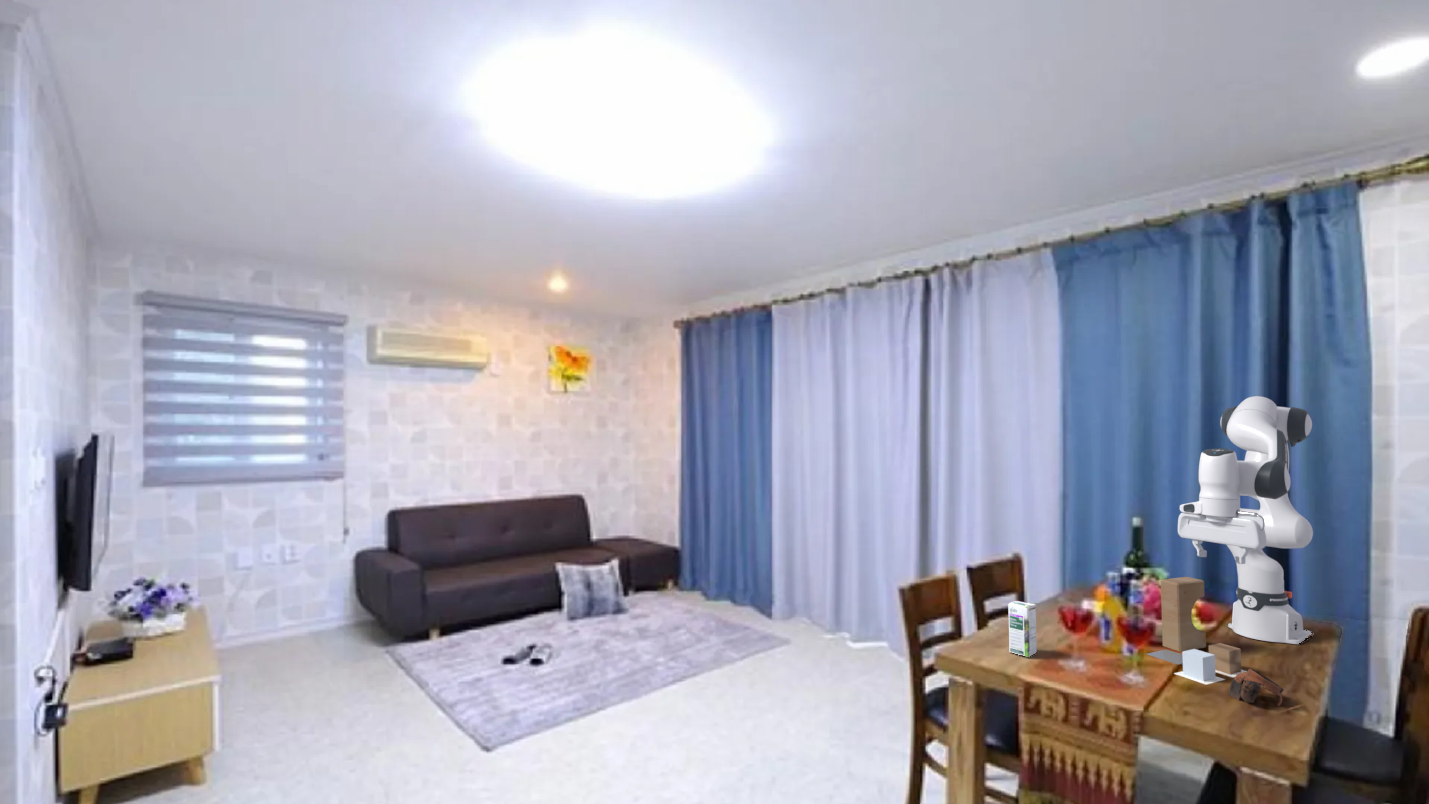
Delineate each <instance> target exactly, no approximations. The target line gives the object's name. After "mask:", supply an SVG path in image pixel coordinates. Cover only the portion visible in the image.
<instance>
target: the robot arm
mask: <svg viewBox="0 0 1429 804" xmlns="http://www.w3.org/2000/svg"><path fill="white" fill-rule="evenodd" d="M1219 423H1220V424H1219V425H1220V428H1221V432H1222V434H1224V435H1225V436H1226V437H1227V438H1228V439H1229V440H1230V442H1231V443H1233V445H1235V446H1236V447H1237V448H1240V449H1241V450H1244V451H1246V452H1245V457H1244V460H1238V457H1237V453H1236V451H1235V450H1232V449H1230V448H1222V447H1221V448H1209V449H1205V450H1203V451H1202V452H1201V453H1200V458H1199V462H1198V464H1199V465H1198V483H1199V487H1200V491H1199V495H1198V501H1192V502H1188V503H1183V504H1180V505H1179V511H1180V512H1181V513H1180V514H1179V515H1178V519H1177V534H1178V536H1180V538H1183V539H1187V540H1189V539H1190V540H1191V541H1192V545H1193V547H1194V549H1195V550H1196V552H1197V553H1196V556H1197V557H1200V558H1207V555H1208V554H1207V553H1208V551H1207V550H1205V549H1204V548H1203V546H1202V544H1203V542H1209V543H1215V544H1221V545H1225V546H1227V548H1228V550H1230V552H1231V554H1232V556H1233V558H1234V560H1235V564H1236V572H1237V585H1238V586H1237V587H1236V591H1235V593H1236V599H1237V600H1236V601H1234V602H1233V604H1232V619H1231V620H1232V621H1231V622H1230V623H1228V625H1227V627H1228V628H1230V629H1232V631H1233V632H1234V633H1235V634H1236V635H1240V636H1243V637H1246V638H1248V639H1254V640H1259V641H1264V642H1271V643H1282V644H1283V643H1285V644H1292V645H1300V644H1299V643H1301V642H1302V641H1304V640H1305V638H1308V636H1309V635H1311V634H1312V633H1311V632H1312V631H1310V630H1308V629H1305V628H1304V623H1303V622H1304V621H1303V617H1302V615H1301V614H1300V613H1299V612H1298V611H1297V610H1296V609H1294V607H1292V606H1291V605H1290V604H1289V603H1290V602H1289V599H1292V598H1293V592H1292V591H1287V590H1285V580H1284V576H1285V575H1284V573H1285V572H1284V569H1283V566H1282V564H1280V563H1279V562H1278V561H1277V560H1275V559H1274V558H1272V557H1270V556H1268V554H1266V553H1265V552H1264V550H1263V549H1264V548H1266V547H1269V548H1270V547H1271V548H1277V549H1303V548H1305V547H1307V546H1308V545H1309V544H1310V543H1311V541H1312V540H1313V536H1314V531H1313V530H1314V529H1313V527H1312V524H1311V523H1310V521H1308V519H1307V518H1305V517H1304V516H1303V515H1302V514H1300V513H1299V512H1298V511H1297V510H1296V509H1295V508H1294V506H1293V505H1292V503H1291V501H1290V498H1289V491H1290V488H1291V484H1292V483H1291V476H1290V475H1291V474H1290V473H1289V471H1290V469H1289V468H1290V450H1289V444H1290V447H1291V448H1294V447H1295V446H1296V444H1299V443H1301V442H1303V441H1304V440H1306V439H1307V438H1308V437H1309V435H1310V433H1311V431H1312V427H1313V421H1312V418H1311V417H1310V413H1309V412H1308V411H1307V410H1306V409H1304V408H1300V407H1293V406H1292V407H1286V406H1277V404H1276V403H1275V402H1274V401H1273V400H1272V399H1270V398H1268V397H1265V396H1259V395H1254V396H1249V397H1247V398H1245V399H1244V400H1243V401H1241V402H1240V403H1239V404H1238V406H1237V405H1236V406H1231V407H1228V408H1226V409H1225V410H1223V413H1222V414H1221V417H1220V422H1219ZM1241 496H1242V497H1244V496H1245V497H1246V496H1247V497H1251V498H1253V499H1255V500H1256V501H1259V505H1260V507H1259V509H1255V508H1254V509H1252V508H1243V507H1242V508H1241ZM1303 629H1305V630H1303ZM1306 630H1307V631H1306ZM1304 642H1305V641H1304ZM1302 643H1303V642H1302ZM1302 643H1301V644H1302Z"/></svg>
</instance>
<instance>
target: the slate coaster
mask: <svg viewBox="0 0 1429 804" xmlns="http://www.w3.org/2000/svg"><path fill="white" fill-rule="evenodd" d="M1146 655H1147V656H1151V657H1154V658H1155V659H1160V660H1162V661H1165V662H1168V663H1170V664H1171V663H1172V664H1175V665H1177V666H1178V665H1183V655H1182V653H1178V652H1175V651H1172V650H1171V649H1170V650H1169V649H1162V650H1158V651H1153V652H1150V653H1149V652H1148V653H1146Z"/></svg>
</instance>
